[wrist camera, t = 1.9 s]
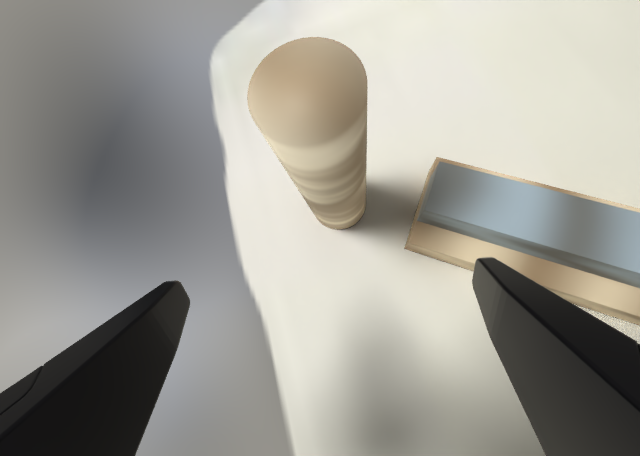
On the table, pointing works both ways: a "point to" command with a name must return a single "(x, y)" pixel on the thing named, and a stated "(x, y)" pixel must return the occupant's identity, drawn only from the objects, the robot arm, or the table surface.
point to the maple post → (316, 123)
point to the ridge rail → (527, 265)
